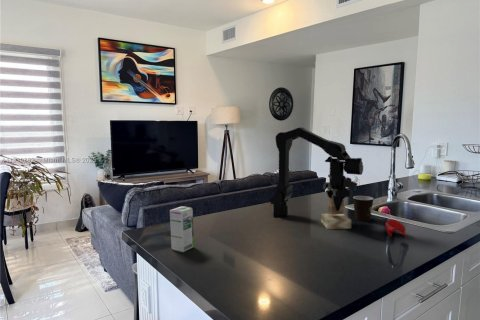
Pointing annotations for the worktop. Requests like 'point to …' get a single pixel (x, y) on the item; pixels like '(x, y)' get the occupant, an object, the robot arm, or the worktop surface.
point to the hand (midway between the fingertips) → (335, 209)
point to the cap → (394, 227)
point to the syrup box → (182, 228)
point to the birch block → (336, 221)
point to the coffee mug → (363, 208)
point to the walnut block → (332, 207)
